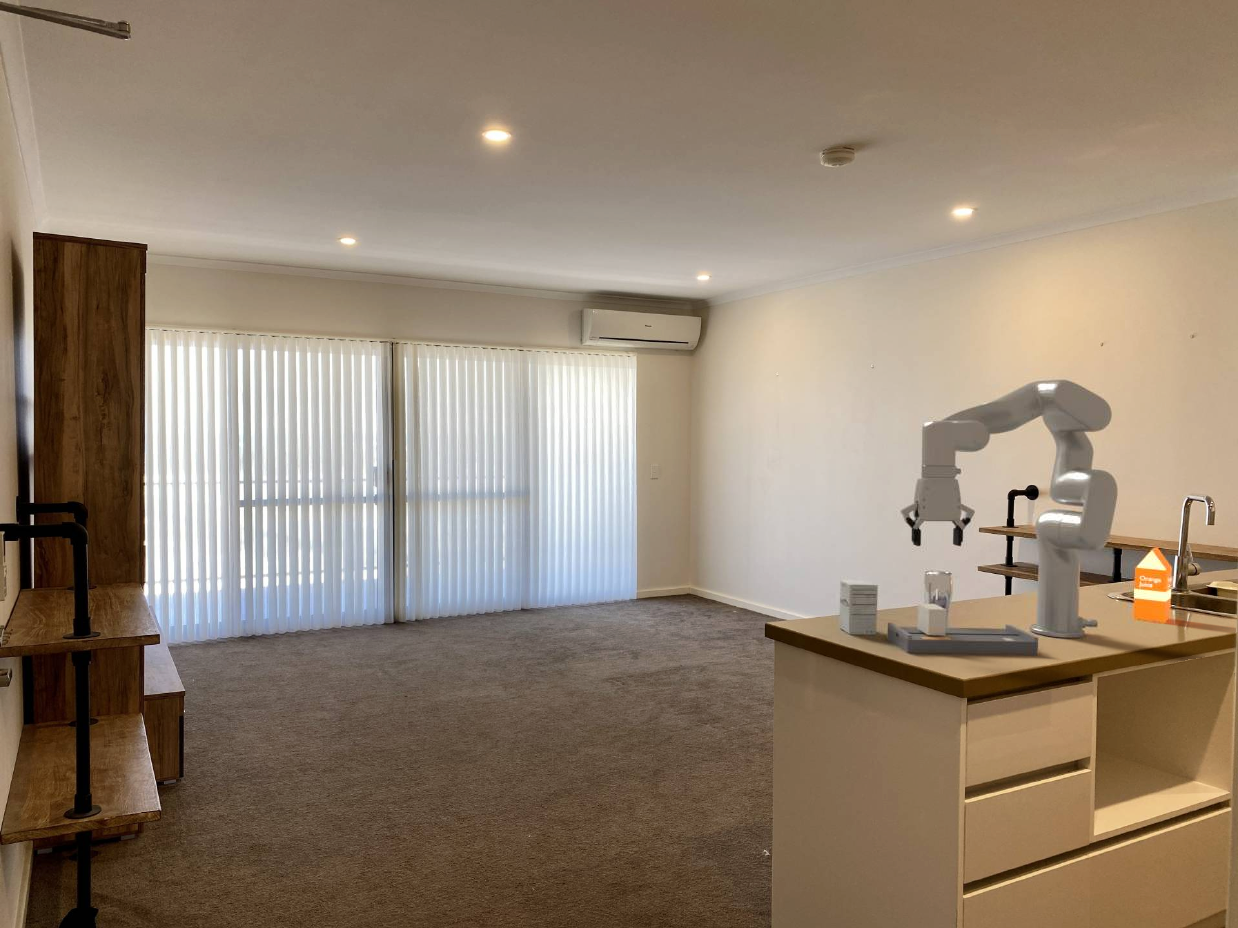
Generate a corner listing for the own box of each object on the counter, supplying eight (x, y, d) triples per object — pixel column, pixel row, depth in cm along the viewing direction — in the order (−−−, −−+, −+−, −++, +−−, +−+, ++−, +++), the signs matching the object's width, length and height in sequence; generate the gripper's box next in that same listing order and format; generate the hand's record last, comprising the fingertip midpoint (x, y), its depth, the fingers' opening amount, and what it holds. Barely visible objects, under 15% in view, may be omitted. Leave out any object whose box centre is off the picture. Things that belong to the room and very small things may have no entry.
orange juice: (1132, 619, 245) (1135, 548, 245) (1139, 614, 252) (1141, 545, 252) (1165, 623, 240) (1168, 550, 240) (1170, 618, 247) (1173, 548, 246)
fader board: (1009, 640, 214) (1009, 624, 214) (1037, 654, 200) (1038, 637, 200) (887, 638, 214) (887, 622, 213) (907, 652, 200) (907, 635, 200)
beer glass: (953, 634, 220) (955, 575, 219) (924, 633, 221) (926, 573, 221) (948, 629, 227) (950, 571, 226) (920, 627, 228) (922, 570, 228)
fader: (933, 633, 210) (934, 603, 210) (945, 640, 203) (946, 609, 203) (917, 633, 210) (918, 603, 210) (928, 640, 203) (929, 609, 203)
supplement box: (838, 628, 225) (839, 579, 225) (866, 628, 225) (867, 579, 225) (848, 634, 217) (849, 584, 217) (877, 634, 218) (878, 584, 218)
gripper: (967, 472, 211) (966, 543, 212) (896, 472, 211) (895, 543, 211) (981, 474, 204) (980, 547, 204) (907, 473, 203) (906, 547, 204)
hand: (937, 545), depth 208 cm, fingers open, 9 cm apart
